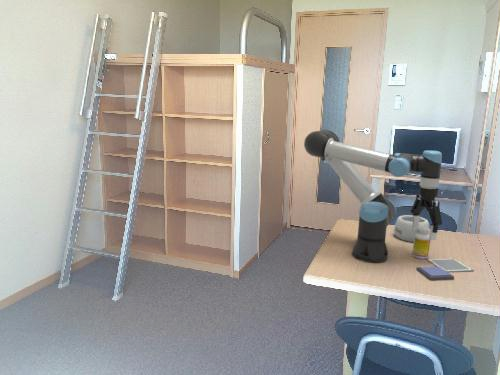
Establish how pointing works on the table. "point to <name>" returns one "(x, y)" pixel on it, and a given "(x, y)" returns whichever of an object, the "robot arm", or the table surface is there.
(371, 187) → the robot arm
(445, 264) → the board
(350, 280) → the table surface
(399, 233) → the mug
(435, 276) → the ink pad
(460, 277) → the table surface
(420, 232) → the supplement bottle
